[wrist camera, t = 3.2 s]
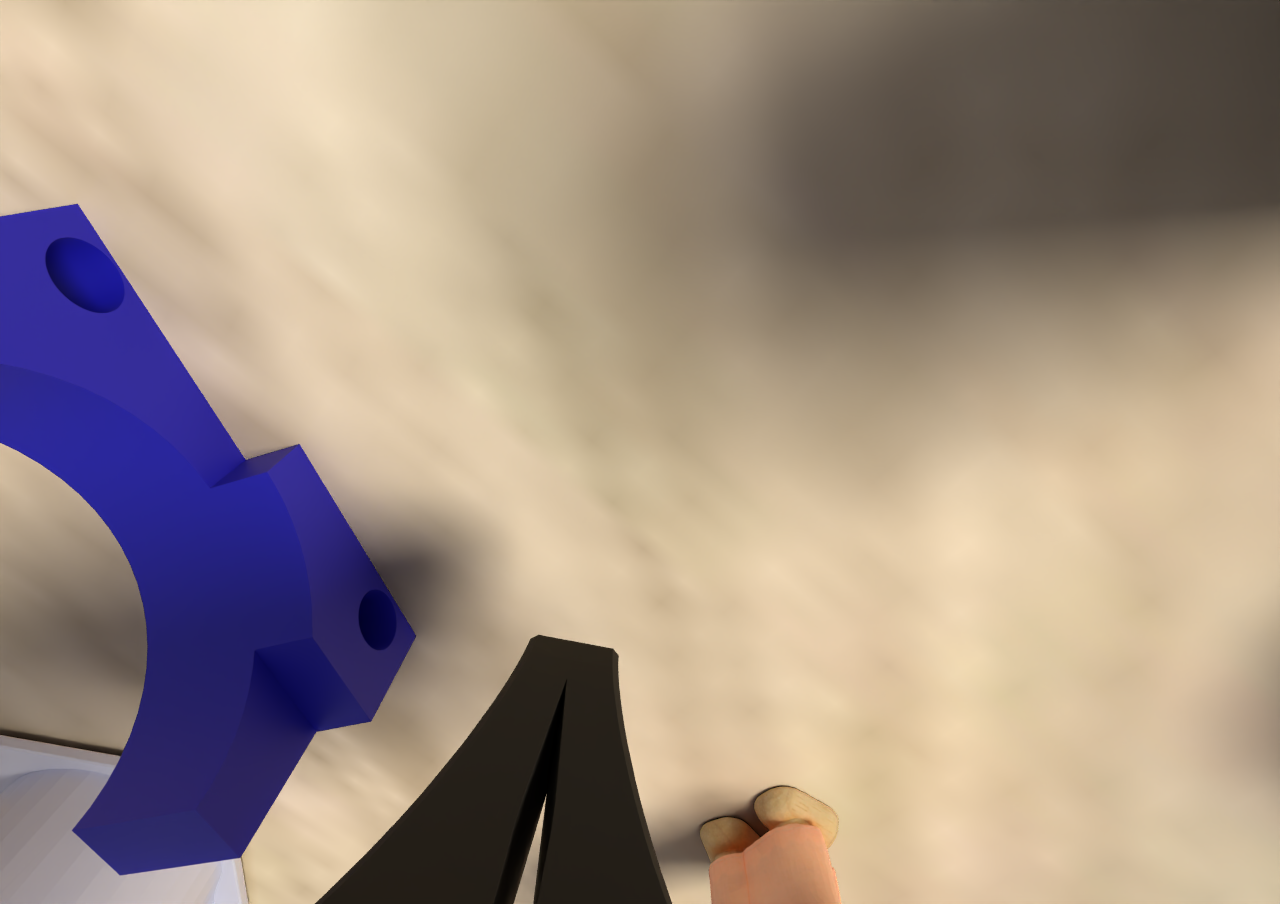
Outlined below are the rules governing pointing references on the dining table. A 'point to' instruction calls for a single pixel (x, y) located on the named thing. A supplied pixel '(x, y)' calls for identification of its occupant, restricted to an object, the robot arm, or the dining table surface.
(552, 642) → the robot arm
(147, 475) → the cable clip
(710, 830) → the grandmother figurine
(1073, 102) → the dining table surface
